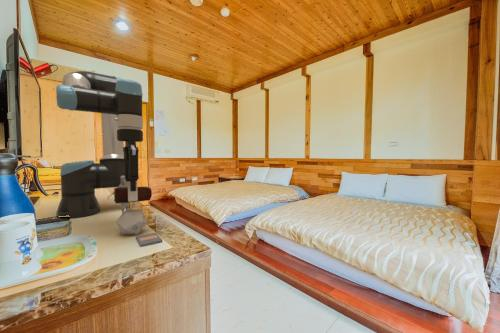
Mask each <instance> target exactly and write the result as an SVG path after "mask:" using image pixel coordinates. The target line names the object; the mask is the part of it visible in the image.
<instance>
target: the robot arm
mask: <svg viewBox="0 0 500 333" xmlns="http://www.w3.org/2000/svg"><path fill="white" fill-rule="evenodd" d="M61 80H62V83H61V84H57V85H56V88H55V91H56V92H55V95H56V104H57V105H56V106H57V107H58V108H59V109H62V110H68V111H72V112H74V111H77V112H78V111H79V112H89V113H95V114H96V113H98V114H100V116H101V133H102V134H101V136H102V137H101V138H102V139H101V140H102V154H103V155H102V157H100V158H99V160H98V161H99V162H98V163H96V162H95V161H94V160H92V159H91V160H82V161H74V162H67V163H63V164H61V166H60V174H59V176H60V191H61V192H60V193H61V199H60V201H59V204H58V206H57V210H56V217H57V216H66V215H69V216H70V218H69V219H74V218H75V219H76V218H84V217H87V216H92V215H95V214H99V213H100V211H101V206H100V204H99V202H98V199H97V196H96V192H95V191H96V190H97V189H110V188H112V189H113V188H118V187H119V185H121V176H125V179H126V187H128V202H129V203H131V202H130V201H138V189H137V187H138V181H139V179H140V176H139V152H140V151H139V147H138V146H137V143H141V142H143V141H144V132H143V129H144V118H143V88H142V84H141V83H140V82H138V81H135V80H132V79H126V78H125V79H124V78H122V77H121V78H120V77H117V76H114V75H113V76H112V75H107V74H102V73H97V72H92V71H86V70H82V71H81V70H80V71H79V70H77V71H72V72H68V73H67V74H65V75H64V76H63V78H62V79H61ZM124 142H125V145H124Z"/></svg>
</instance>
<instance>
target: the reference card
mask: <svg viewBox="0 0 500 333" xmlns="http://www.w3.org/2000/svg"><path fill="white" fill-rule="evenodd" d="M135 240H136V241H137V243H138V245H139V246H140V248H142V247H146V246H151V245H155V244H159V243H160V244H161V243H163V239H162V238H161V237H160V236H159V234H158V233H157V232H152V233H151V232H150V233H147V234H141V235H136V236H135Z"/></svg>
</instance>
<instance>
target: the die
mask: <svg viewBox="0 0 500 333" xmlns="http://www.w3.org/2000/svg"><path fill="white" fill-rule="evenodd" d="M115 223H116V225H117V226H118V229H119V230H120V232H121V235H139V234H140V233H141V231H142V230H143V229H144V228H145V226H146V225H147V224H148V220H147V218H146V215H145V214H144V212H143V209H142V208H141V209H140V208H139V209H138V208H137V209H135V208H134V209H133V208H132V209H130V208H129V209H127V210H126V209H125V210H124V213H123V214H122V213H121V215H120V216H119V217H118V218H117V219H116V220H115Z"/></svg>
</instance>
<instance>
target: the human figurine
mask: <svg viewBox="0 0 500 333" xmlns="http://www.w3.org/2000/svg"><path fill="white" fill-rule="evenodd" d="M120 187H126V179H125V176H121V185H119V187H117V188H120ZM113 195H114V190H113V191H112V193H111V194H110V195H108V196H107V197H106V200H109V198H110V197H111V196H113ZM120 205H121V215H122V214H123V213H124V212H125V211H126V210H127V209H130V208H129V206H130V202H129V203H120Z"/></svg>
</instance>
